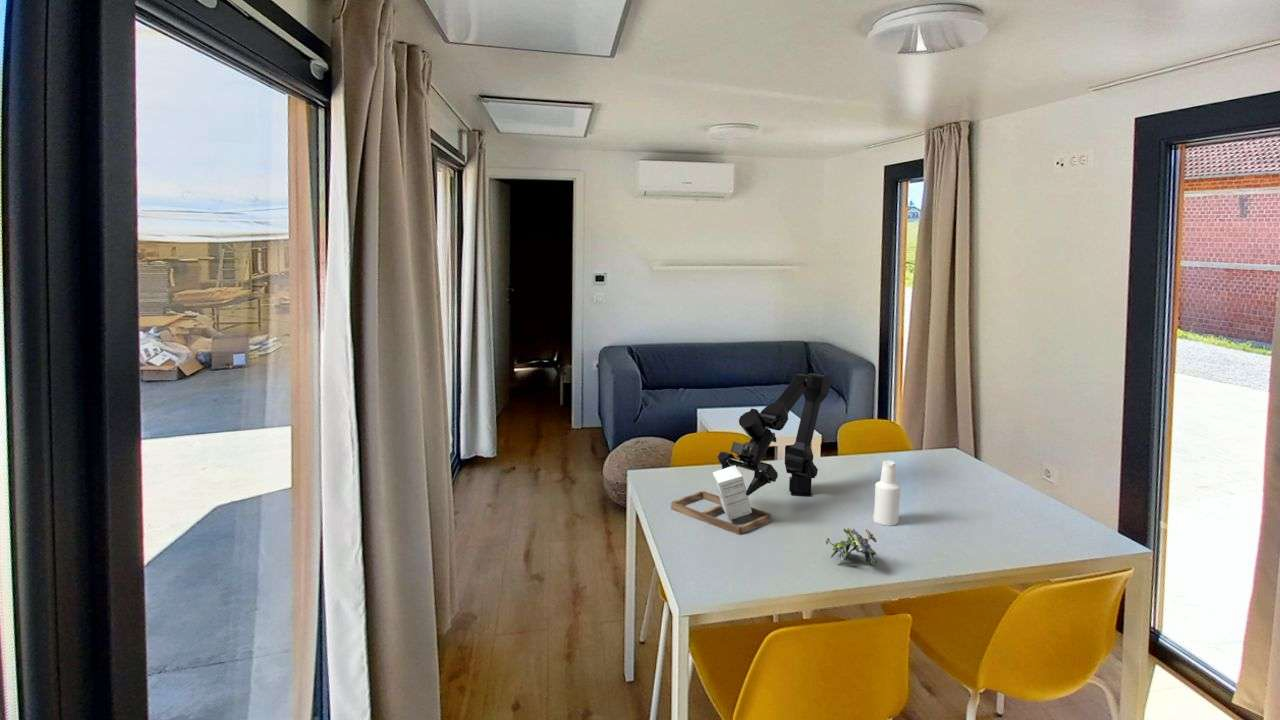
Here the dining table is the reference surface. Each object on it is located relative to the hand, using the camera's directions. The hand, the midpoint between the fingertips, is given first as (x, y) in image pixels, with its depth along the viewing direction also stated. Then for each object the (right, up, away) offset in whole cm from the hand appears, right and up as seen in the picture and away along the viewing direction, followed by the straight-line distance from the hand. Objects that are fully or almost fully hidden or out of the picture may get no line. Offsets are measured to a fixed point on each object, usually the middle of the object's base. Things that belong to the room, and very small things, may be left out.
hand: (733, 490), depth 198 cm
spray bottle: (+45, -10, +2) cm, 46 cm away
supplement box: (+1, -6, +2) cm, 7 cm away
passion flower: (+27, -14, -25) cm, 39 cm away
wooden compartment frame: (-3, -8, +7) cm, 11 cm away
